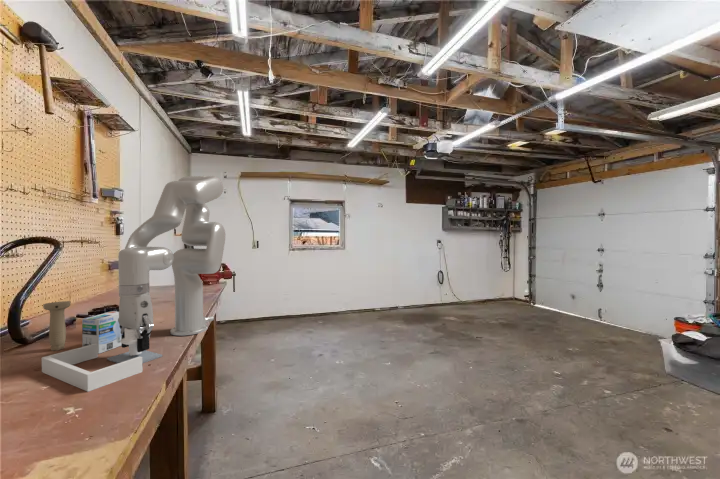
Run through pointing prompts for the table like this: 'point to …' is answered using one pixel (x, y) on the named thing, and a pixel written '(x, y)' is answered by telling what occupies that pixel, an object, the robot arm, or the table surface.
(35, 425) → the table surface
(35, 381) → the table surface
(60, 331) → the handle
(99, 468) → the table surface
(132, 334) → the pipe fitting
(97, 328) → the light bulb box
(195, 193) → the robot arm
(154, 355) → the mat
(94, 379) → the frame
